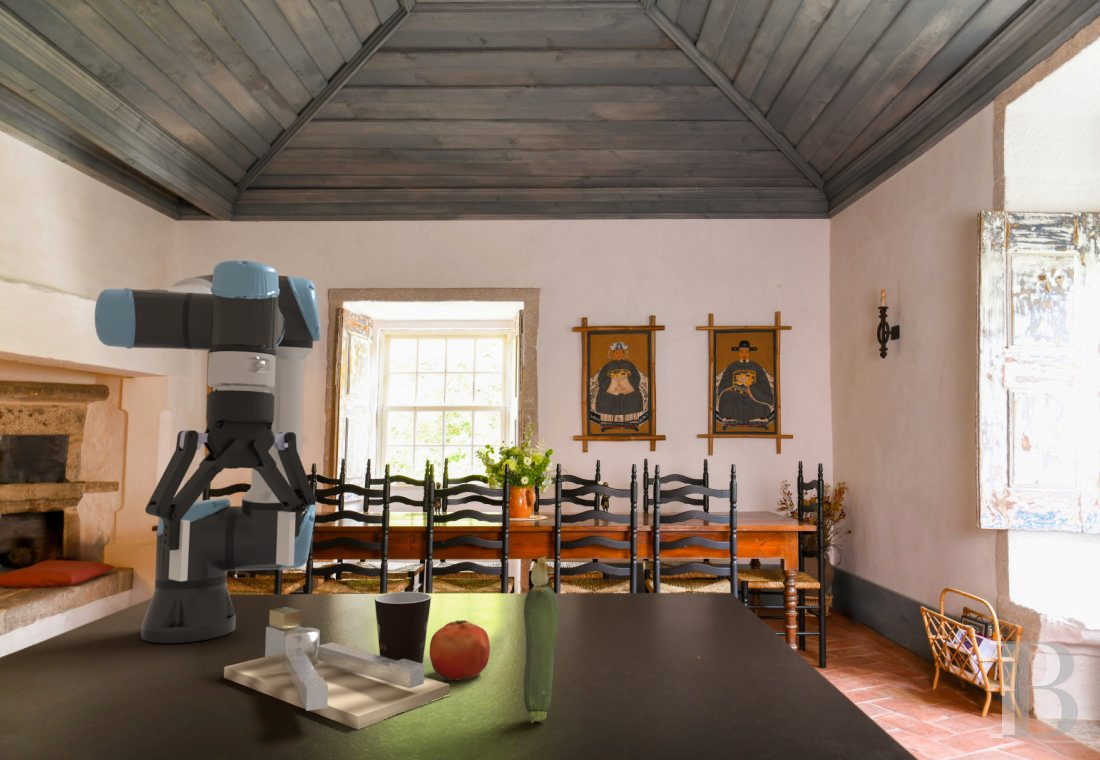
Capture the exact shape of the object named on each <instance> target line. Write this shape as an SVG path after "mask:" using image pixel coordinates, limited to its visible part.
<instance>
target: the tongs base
mask: <svg viewBox="0 0 1100 760" xmlns="http://www.w3.org/2000/svg"><path fill="white" fill-rule="evenodd" d="M265 629H266V630H265V652H264V657H267V658H270V659H273V660H276V661H279V662H282V663H283V666H284V667H285V665H284V660H285V651H286V650H294V649H303V650H304V652H305V654H306V655H307V657H308V658H309V660H310V662H311V663H312V665H313V666H314V665H316V664H318V663H319V661H323V662H326V663H329V664H332V665H335V666H339V667H342V668H345V669H348V670H351V671H355V672H358V673H361V674H364V675H367V676H371V677H374V678H377V679H380V680H384V681H387V682H390V683H393V684H396V685H400V686H403V687H406V688H409V689H410V688H413V687H416V686H419V685H422V684H424V677H425V664H424V663H423V664H421V663H418V662H414V661H410V660H407V659H401V660H398V661H397V660H393V659H390V658H386V657H382V656H380V654H379V655H378V654H375V653H372V652H368V651H364V650H361V649H358V648H357V649H356V648H355V647H349V646H346V645H342V644H339V643H336V642H329V643H328V642H327V643H325V644H320V635H321V634H320V632H321V631H320V629H319V628H315V627H302V626H296V627H291V628H286V629H282V628H279V627H275V626H272V625H268V626H265Z"/></svg>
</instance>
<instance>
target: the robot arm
mask: <svg viewBox="0 0 1100 760" xmlns="http://www.w3.org/2000/svg"><path fill="white" fill-rule="evenodd" d="M318 303H319V302H318V296H317V290H316V285H315V283H314V282H313V281H312V280H310V279H308V278H305V277H303V278H302V277H296V276H292V275H291V276H290V275H279V273H278V270H277V269H275V267H273V266H271V265H269V264H265V263H262V262H259V261H258V262H257V261H250V260H237V259H236V260H225V261H221V262H219V263H218V264H217V265H215V267H214V268H213V273H211V274H205V275H200V276H195V277H194V276H193V277H187V278H184V279H180V280H179V281H177V282H175V283H174V284H173V285H172V286H168V287H167V286H165V287H161V288H151V289H132V288H129V287H128V288H127V287H125V288H106V289H104V290H102V291H101V292H100V293H99V295H98V297H97V300H96V303H95V308H94V327H95V331H96V336H97V338H98V340H99V341H100V342H101V343H102V344H103V345H104V346H108V347H114V348H115V347H117V348H118V347H119V348H126V349H131V350H132V349H139V348H140V349H171V350H172V349H174V350H175V349H176V350H188V351H189V350H193V351H194V350H196V351H208V368H207V369H208V372H207V386H208V387H209V388H212V391H211V390H210V391H209V393H207V395H206V411H205V413H206V416H205V419H206V424H207V425H206V429H205V430H204V432H198V431H197V430H192V429H191V430H190V429H189V430H186V429H185V430H180V431H179V432H178V433H177V439H176V443H175V444H176V445H175V450H174V453H173V454H172V457H171V458H170V459H169V462H168V463H167V466H166V468H165V470H164V472H163V474H162V476H161V477H160V479H159V481H158V483H157V485H156V487H155V489H154V490H153V493H152V495H151V496H150V499H149V501H148V502H147V504H146V506H145V508H144V509H145V513H146V514H147V515H150V516H155V517H157V518H158V524H157V531H156V533H155V536H156V551H155V552H156V554H155V575H154V578H155V579H154V590H153V591H154V592H153V594H152V597H151V600H150V602H149V605H148V607H147V610H146V612H145V615H144V618H143V620H142V623H141V628H140V631H141V633H140V639H142V640H143V641H146V642H150V643H156V644H181V643H183V644H184V643H193V642H199V641H206V640H211V639H215V638H220V637H223V636H226V635H229V634H230V633H232V632H233V631H234V630H235V629H236V619H237V617H236V613H235V609H234V607H233V604H232V600H231V597H230V593H229V590H228V584H227V582H228V581H227V580H228V579H227V578H228V572H238V571H243V572H244V571H264V570H265V571H266V570H270V571H271V570H278V571H282V570H287V569H298V568H301V567H303V566H304V565H306V563H307V561H308V559H309V554H310V548H311V543H312V542H311V541H312V536H313V535H312V534H313V529H314V523H315V518H316V511H317V505H316V504H315V503H316V498H315V495H314V491H313V489H312V487H311V486H312V485H310V480H309V478H308V475H307V473H306V471H305V468H304V466H303V463H302V446H303V445H302V444H303V443H302V440H303V439H302V438H303V404H304V402H303V401H304V366H305V365H304V364H305V358H306V357H307V356H308V355H309V354H311V352H313V349H314V347H313V345H314V342H318V341H320V340H321V339H322V335H321V334H322V331H321V322H320V313H319V305H318ZM202 445H204V447H205V448H206V450H207V451H208V453H207V454H206V455H205V457H203V459H202V460H201V462H200V463H199V465H198V468H197V469H196V470H195V472H194V473H192V475H191V477H190V478H189V479H188V480H187V481H186V482H185V484H183V486H182V487H181V488H180V486H181V484H182V483H183V480H184V479H185V477H186V474H187V473H188V470H189V468H190V467H191V465H192V463H193V460H194V458H195V456H196V454H197V451H199V450H200V449H201V447H202ZM224 469H230V470H231V469H232V470H233V469H234V470H235V469H251V474H250V475H251V480H250V489H248V490H247V491H246V492H245V493H244V494H243V495H242V496H241V505H237V506H234V505H233V506H232V502H231V501H230V498H227V497H225V498H215V499H205V500H199V501H197V500H198V498H200V496H201V495H202V494H203V493H204V491H205V490H206V489H207V487H208V486H209V485H210V484H211V482H212V481H213V480H214V478H215V477H217V475H218V474H220V473H221V472H223V471H224ZM178 490H179V491H178ZM177 491H178V492H177ZM314 504H315V505H314Z"/></svg>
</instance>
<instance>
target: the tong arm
mask: <svg viewBox="0 0 1100 760" xmlns="http://www.w3.org/2000/svg"><path fill="white" fill-rule="evenodd" d="M284 665H285V668H286V670H287V672H288V674H289V676H290V678H291V680H292V682H293V684H294V686H295V688H296V690H297V692H298V694H299V697H300V699H301V701H302V703H303V705H304V707H305V710H306V711H307V712H308V711H309V710H316V709H322V708H327V705H328V685H327V684H326V682H325V680H324V679H323V677H319V675H318V673H317V672H316V670H315V668H314V667H313V665H312V663H311V662H310V660H309V658H308V657H307V655H306V654H305V652H304V650H303V649H294V650H286V651H285V660H284ZM309 712H310V711H309Z"/></svg>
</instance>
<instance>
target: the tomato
mask: <svg viewBox="0 0 1100 760" xmlns="http://www.w3.org/2000/svg"><path fill="white" fill-rule="evenodd" d="M490 652H491V644H490V638H489V634H488V633H487V631H486V630H485V628H482V627H480V626H479V625H477V624H474V623H472V622H470V621H468V620H463V619H462V620H458V619H457V620H454V621H450V622H448V623H446V624H445V625H443V626H442V627H441V628H439V629H437V630H436V631H435V632H434V633H433V635H432V637H431V639H430V643H429V659H430V663H431V667H432V669H433V670H434V671H435V673H436V674H437V675H438V676H439V677H440V678H441V679H444V680H451V681H457V680H467V679H471V678H474V677H477V676H478V675H479V674H480V673H482V672H483V670H485V668H486V666H487V665H488V662H489V659H490V654H491V653H490Z"/></svg>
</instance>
